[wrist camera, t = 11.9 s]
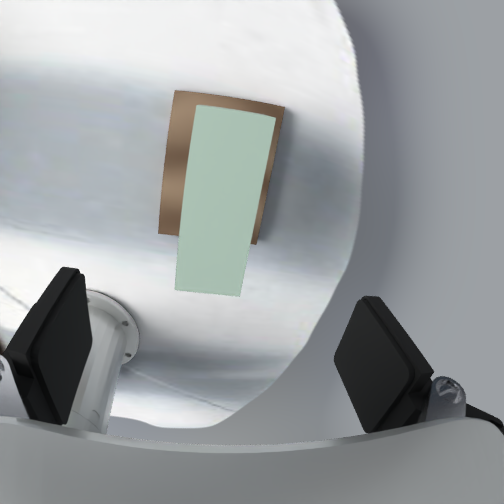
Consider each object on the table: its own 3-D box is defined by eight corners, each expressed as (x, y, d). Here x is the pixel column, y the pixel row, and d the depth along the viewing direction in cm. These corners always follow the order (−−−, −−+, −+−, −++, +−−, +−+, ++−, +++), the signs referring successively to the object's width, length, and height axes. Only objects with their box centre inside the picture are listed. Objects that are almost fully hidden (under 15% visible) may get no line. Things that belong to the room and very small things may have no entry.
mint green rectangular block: (262, 114, 21) (276, 117, 17) (234, 261, 26) (239, 296, 22) (200, 104, 20) (196, 105, 16) (180, 255, 25) (174, 289, 21)
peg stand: (254, 239, 34) (265, 275, 27) (159, 228, 32) (147, 262, 25) (282, 106, 28) (302, 108, 21) (176, 90, 26) (164, 87, 19)
